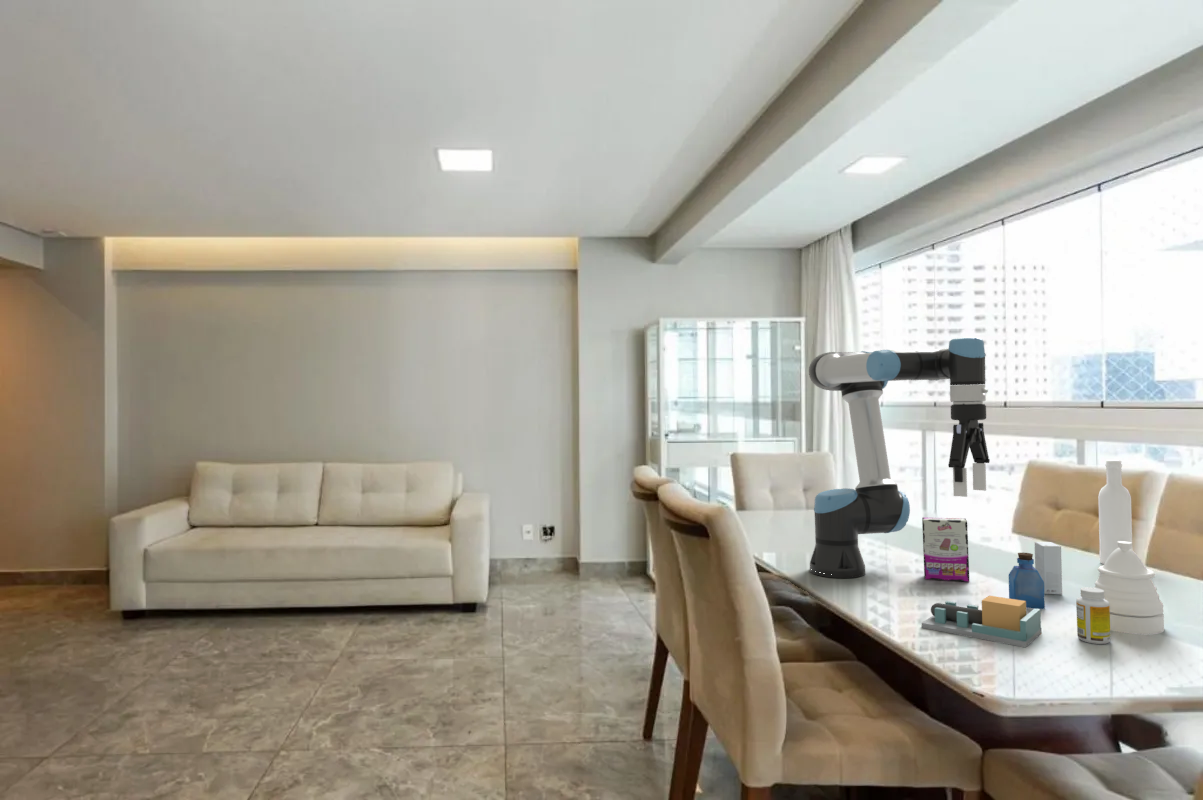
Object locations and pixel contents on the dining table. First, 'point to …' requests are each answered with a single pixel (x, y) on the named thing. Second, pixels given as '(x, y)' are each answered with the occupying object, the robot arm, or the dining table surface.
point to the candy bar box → (945, 549)
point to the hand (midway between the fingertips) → (970, 493)
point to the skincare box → (1049, 566)
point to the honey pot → (1130, 593)
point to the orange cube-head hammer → (990, 612)
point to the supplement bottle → (1093, 616)
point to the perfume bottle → (1026, 583)
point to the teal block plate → (986, 627)
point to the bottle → (1113, 511)
